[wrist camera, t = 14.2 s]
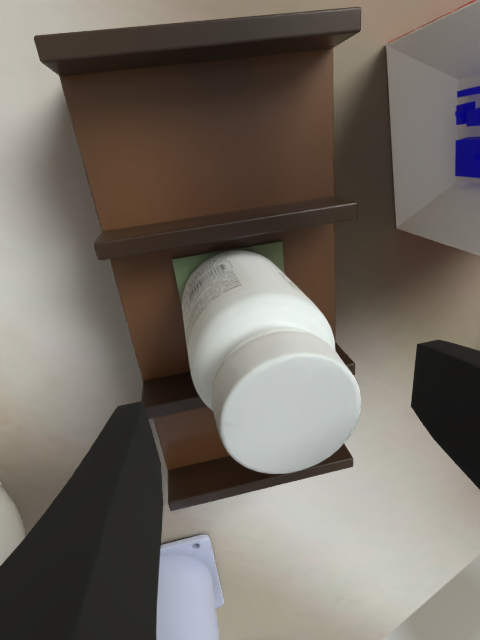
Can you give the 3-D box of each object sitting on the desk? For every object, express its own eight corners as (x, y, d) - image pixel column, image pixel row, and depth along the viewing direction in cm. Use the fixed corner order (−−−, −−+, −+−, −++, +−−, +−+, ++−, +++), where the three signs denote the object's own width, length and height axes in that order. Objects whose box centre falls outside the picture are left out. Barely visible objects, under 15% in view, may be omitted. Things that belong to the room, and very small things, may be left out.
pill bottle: (178, 346, 16) (190, 497, 9) (184, 243, 14) (206, 330, 7) (276, 348, 17) (356, 486, 10) (294, 252, 15) (405, 337, 8)
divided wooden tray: (168, 437, 22) (170, 512, 17) (74, 72, 14) (32, 34, 10) (316, 405, 23) (353, 467, 18) (303, 49, 15) (362, 5, 11)
